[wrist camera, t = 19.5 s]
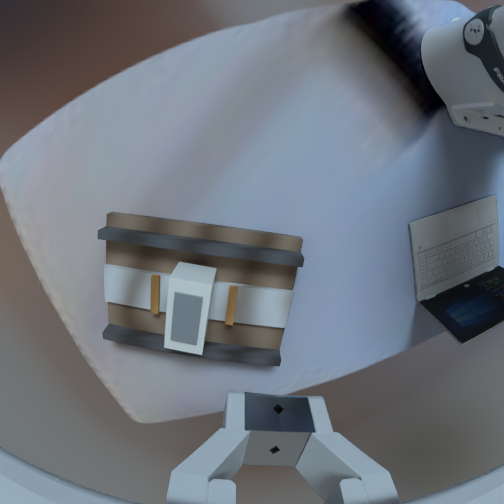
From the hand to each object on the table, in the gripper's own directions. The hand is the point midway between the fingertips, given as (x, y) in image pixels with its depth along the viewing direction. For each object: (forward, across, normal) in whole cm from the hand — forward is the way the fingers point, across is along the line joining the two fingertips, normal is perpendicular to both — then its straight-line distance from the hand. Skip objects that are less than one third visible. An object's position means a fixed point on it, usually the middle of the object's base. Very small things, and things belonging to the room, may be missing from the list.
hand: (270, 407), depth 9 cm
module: (+27, +6, +10) cm, 29 cm away
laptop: (+30, -31, -1) cm, 43 cm away
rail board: (+29, +6, +10) cm, 31 cm away
